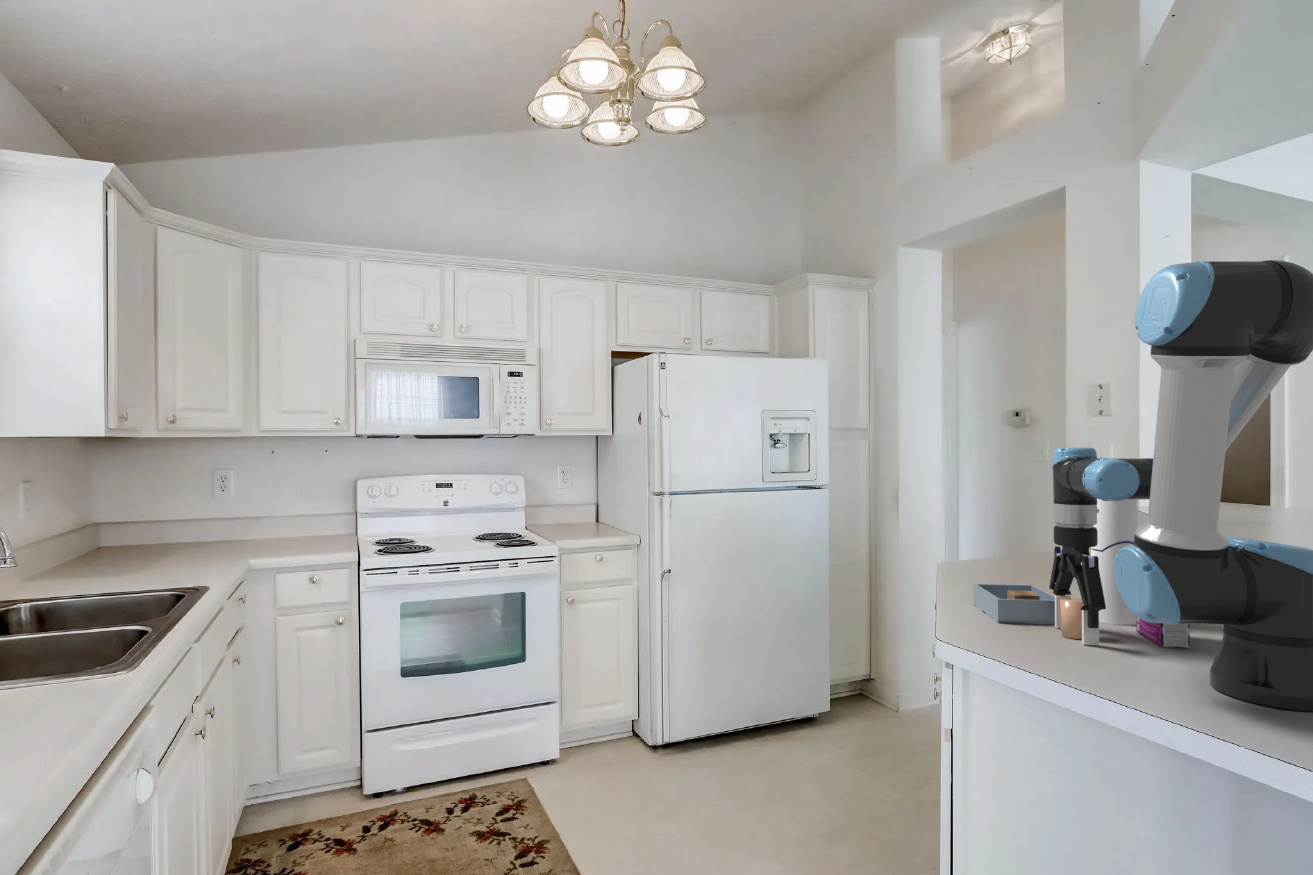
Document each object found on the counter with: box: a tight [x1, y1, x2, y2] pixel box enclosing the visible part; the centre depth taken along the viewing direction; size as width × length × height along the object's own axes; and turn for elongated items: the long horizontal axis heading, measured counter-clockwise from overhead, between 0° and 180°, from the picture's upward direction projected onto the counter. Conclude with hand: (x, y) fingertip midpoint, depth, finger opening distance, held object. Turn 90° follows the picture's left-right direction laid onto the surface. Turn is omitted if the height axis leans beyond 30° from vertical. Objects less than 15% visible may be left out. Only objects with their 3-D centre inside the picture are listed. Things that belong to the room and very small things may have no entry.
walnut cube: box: [1007, 590, 1040, 600], centre depth 157 cm, size 5×5×5 cm
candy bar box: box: [1135, 616, 1191, 649], centre depth 139 cm, size 11×5×16 cm, turn 168°
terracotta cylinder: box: [1060, 597, 1084, 640], centre depth 142 cm, size 5×5×7 cm
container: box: [1090, 499, 1139, 626], centre depth 155 cm, size 9×9×30 cm
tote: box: [972, 583, 1055, 626], centre depth 161 cm, size 17×13×5 cm
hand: (1076, 635), depth 142 cm, fingers open, 12 cm apart
